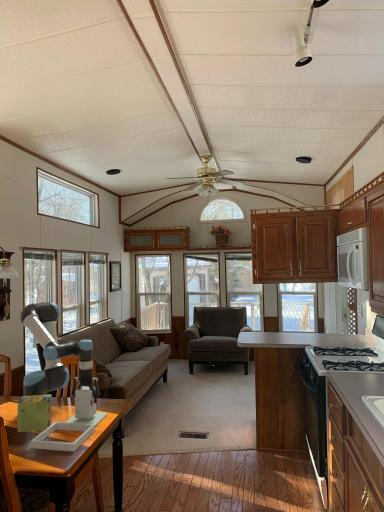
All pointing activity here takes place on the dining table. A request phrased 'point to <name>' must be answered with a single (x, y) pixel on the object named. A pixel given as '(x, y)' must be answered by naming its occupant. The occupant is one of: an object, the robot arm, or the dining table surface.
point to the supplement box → (84, 403)
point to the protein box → (34, 413)
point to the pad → (93, 420)
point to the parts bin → (62, 446)
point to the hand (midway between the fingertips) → (86, 408)
